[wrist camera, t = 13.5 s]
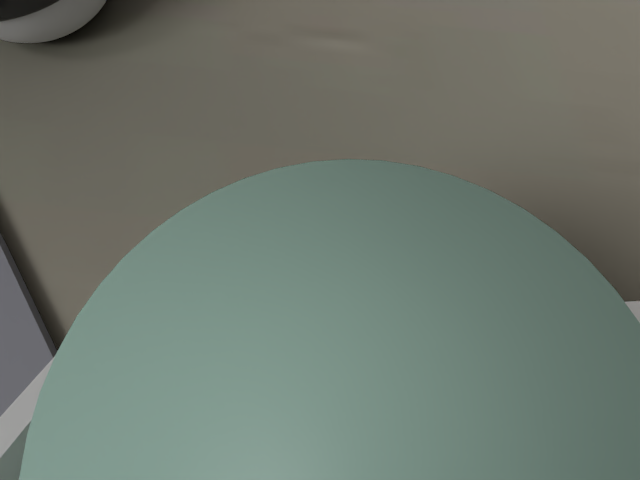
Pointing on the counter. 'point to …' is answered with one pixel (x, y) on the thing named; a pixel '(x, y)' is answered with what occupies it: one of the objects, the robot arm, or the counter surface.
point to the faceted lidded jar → (345, 342)
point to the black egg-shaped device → (44, 18)
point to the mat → (19, 333)
